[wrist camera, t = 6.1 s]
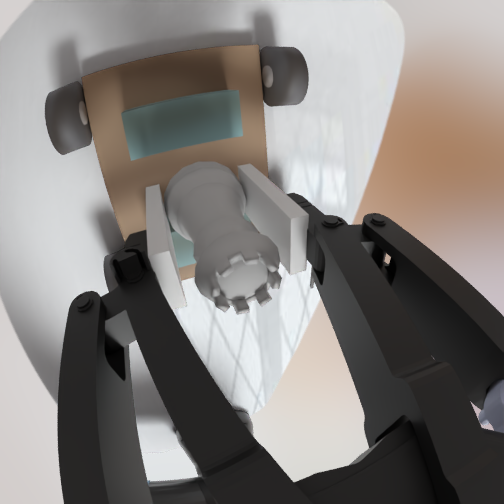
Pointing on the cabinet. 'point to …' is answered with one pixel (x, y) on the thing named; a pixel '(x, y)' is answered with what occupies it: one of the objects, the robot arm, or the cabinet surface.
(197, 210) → the rook chess piece
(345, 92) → the cabinet surface
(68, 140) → the chassis
